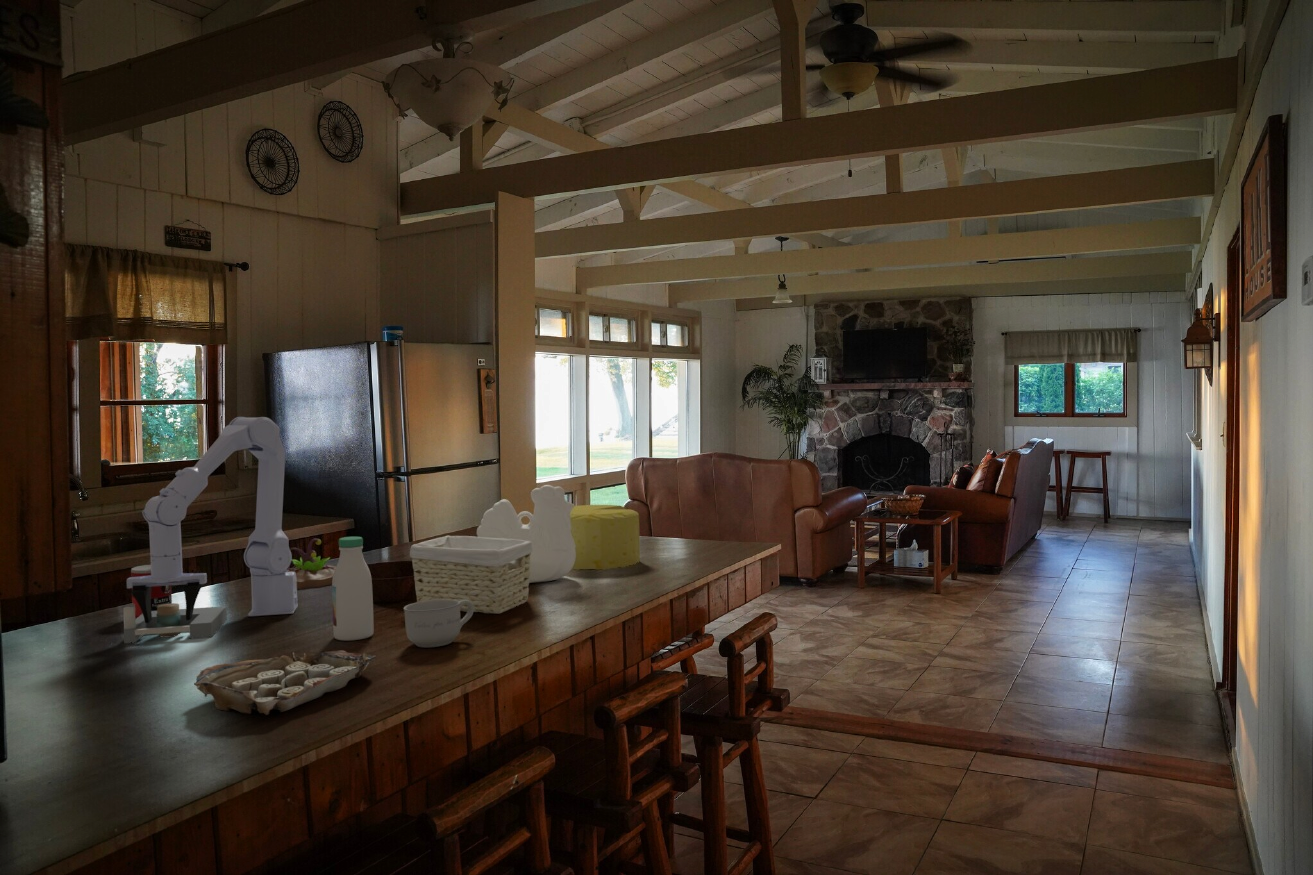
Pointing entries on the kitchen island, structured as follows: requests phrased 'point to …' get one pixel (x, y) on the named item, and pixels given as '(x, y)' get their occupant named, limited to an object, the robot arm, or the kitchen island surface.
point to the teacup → (435, 621)
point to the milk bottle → (352, 593)
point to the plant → (312, 569)
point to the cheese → (605, 536)
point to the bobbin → (168, 617)
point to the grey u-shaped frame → (199, 626)
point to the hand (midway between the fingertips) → (168, 620)
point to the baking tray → (279, 680)
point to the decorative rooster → (537, 531)
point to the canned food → (158, 593)
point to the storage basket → (473, 571)
